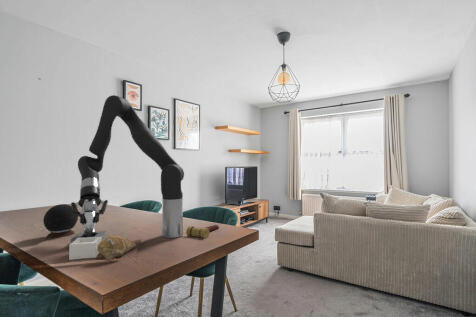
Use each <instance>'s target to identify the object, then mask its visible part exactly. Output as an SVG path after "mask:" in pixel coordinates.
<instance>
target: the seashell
mask: <svg viewBox="0 0 476 317" xmlns="http://www.w3.org/2000/svg"><path fill="white" fill-rule="evenodd" d="M136 245H137V244H136V243H135V242H134V241H132V240H130V239H128V238H125V237H124V236H118V235H111V236H106V238H105V239H103V240H102V241H101V242H100V243H99V245H98V248H97V249H98V251H99V252H100V253H99V254H101V255H102V256H103V258H104V259H105V260H107V261H110V260H113V259H114V258H115V259H119V258H120V257H122V256H123V255H124V254H126V253H128V252H129V251H131V250H132V249H134V248H135V247H136Z"/></svg>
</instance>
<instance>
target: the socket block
mask: <svg viewBox="0 0 476 317" xmlns="http://www.w3.org/2000/svg"><path fill="white" fill-rule="evenodd" d="M106 232H107V231H106V230H103V231H101V230H99V231H95V236H91V237H102V240H103V239H105V238H107V235H106V234H107V233H106ZM77 238H88V237H84V232H79V233H77V234H76V235H75V236H73V237H72V238H70V244H71V243H72V242H74V241H75V240H76V239H77Z"/></svg>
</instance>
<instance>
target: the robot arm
mask: <svg viewBox="0 0 476 317" xmlns="http://www.w3.org/2000/svg"><path fill="white" fill-rule="evenodd" d="M117 117H118V118H120V120H122V121H123V122H124V124H125V125H126V126H127V127H128V130H129V133H130V135H131V138H132V140H133V142H134V143H135V144H136V146H137V147H138V148H139V149H140V150H141V151H142V152H143V154H145V155H146V157H148V158H149V159H151V160H152V161H153V162H155V163H156V164H157V165H158V167H159V168H160V170H161V172H160V193H161V196H162V199H161V200H162V208H161V211H162V212H161V213H162V214H161V215H162V216H161V218H162V219H161V222H162V224H161V225H162V231H161V233H162V234H161V235H162V236H161V237H162V238H168V239H169V238H170V239H173V238H179V237H184V215H183V213H184V212H183V209H184V208H183V206H184V205H183V204H184V203H183V201H184V198H183V194H184V193H183V192H182V181H183V180H184V177H185V172H184V169H183V168H182V167H181V166H180V165H179V164H178V163H177V162H176V161H175V159H174V158H172V156H171V155H170V154H169V152H168V151H167V150H166V149H165V147H164V146H163V145H162V143H161V142H160V141H159V139H158V138H157V137H156V135H155V134H154V133H153V132H152V131H151V129H150V128H149V127H148V126H147V125H146V123H145V122H144V121H143V120H142V119H141V118H140V117H139V115H138V113H137V112H136V110H135V109H134V107H133V105H132V104H131V103H130V102H129V100H127V99H126V98H125V97H121V96H118V95H115V94H114V95H109V96H108V97H107V98H106V99H105V101H104V104H103V108H102V111H101V115H100V119H99V123H98V126H97V129H96V132H95V134H94V136H93V138H92V140H91V143H90V146H89V147H88V151H89V152H90V153H91V154H93V155H95V156H96V157H92V156H89V155H83V156H80V158H79V159H78V161H77V168H78V171H79V173H80V177H81V183H80V188H79V190H80V193H79V194H80V195H79V200H78V202H77V201H76V202H74V201H73V202H71V203H70V206H71V207H72V210H73V212H74V214H75V216H76V217H78V218H79V223H80V224H81V225H82V226H84V202H86V201H95V224H98V222H99V221H100V216H101V215H104V213H105V211H106V209H107V206H108V202H109V201H108V199H105V200H102V198H101V186H100V185H101V184H100V174H99V173H100V172H102V170H103V168H104V167H103V166H104V158H105V154H106V151H107V150H108V147H109V145H110V143H111V138H112V128H113V124H114V121H115V120H116V118H117ZM100 205H101V207H100V209H99V206H100ZM78 207H81V210H80V211H79V209H78Z"/></svg>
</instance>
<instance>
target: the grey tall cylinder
mask: <svg viewBox="0 0 476 317" xmlns="http://www.w3.org/2000/svg"><path fill="white" fill-rule="evenodd" d="M95 232H96V223H95V201H86V202H84V225H83V233H84V237H91V236H95Z"/></svg>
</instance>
